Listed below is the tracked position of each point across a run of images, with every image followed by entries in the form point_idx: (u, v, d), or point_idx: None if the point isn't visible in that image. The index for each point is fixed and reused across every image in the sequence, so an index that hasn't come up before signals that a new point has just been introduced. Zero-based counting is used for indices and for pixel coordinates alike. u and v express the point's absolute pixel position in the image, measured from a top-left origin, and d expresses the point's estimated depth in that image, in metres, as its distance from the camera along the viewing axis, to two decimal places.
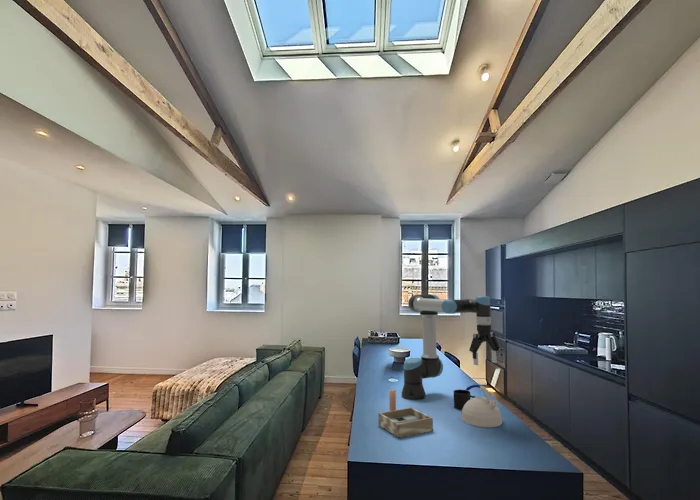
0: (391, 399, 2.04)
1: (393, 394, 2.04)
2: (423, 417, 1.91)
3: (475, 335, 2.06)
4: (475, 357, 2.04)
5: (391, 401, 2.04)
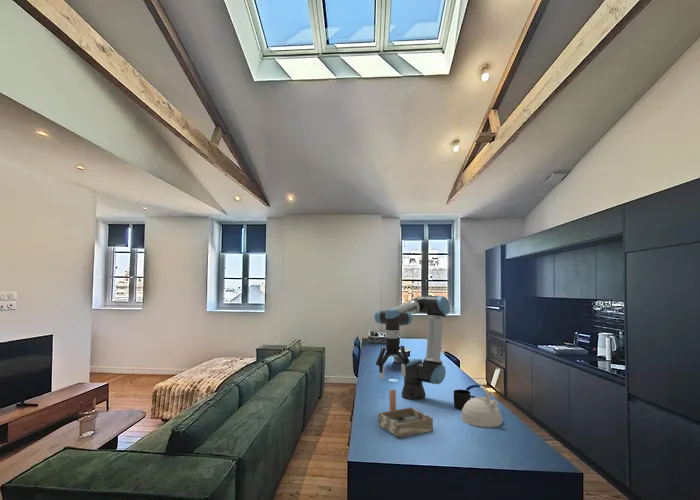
0: (391, 399, 2.04)
1: (393, 394, 2.04)
2: (423, 417, 1.91)
3: (382, 349, 2.04)
4: (381, 371, 2.03)
5: (391, 401, 2.04)
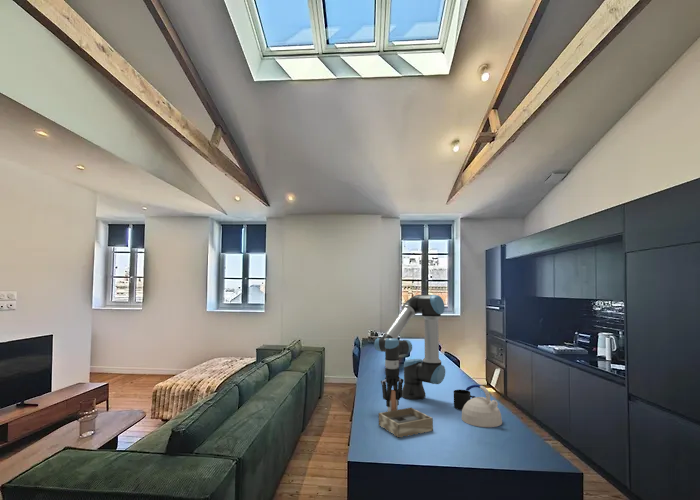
0: (391, 399, 2.04)
1: (393, 394, 2.04)
2: (423, 417, 1.91)
3: (382, 383, 2.03)
4: (388, 405, 2.03)
5: (391, 401, 2.04)
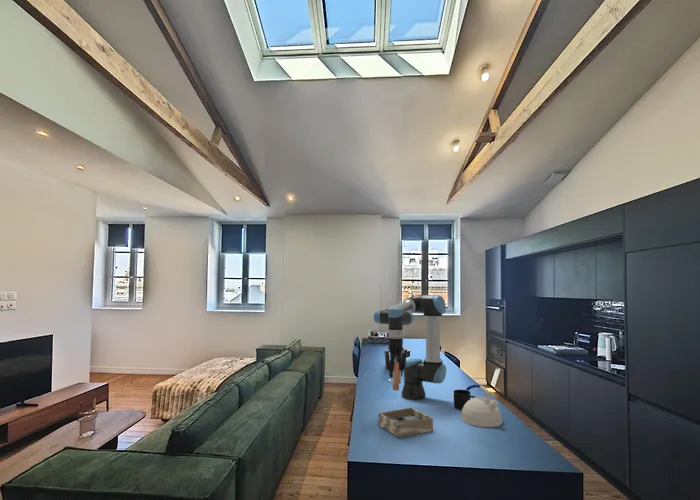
0: (394, 370, 1.98)
1: (396, 365, 1.98)
2: (423, 417, 1.91)
3: (385, 353, 1.97)
4: (391, 376, 1.97)
5: (394, 373, 1.98)
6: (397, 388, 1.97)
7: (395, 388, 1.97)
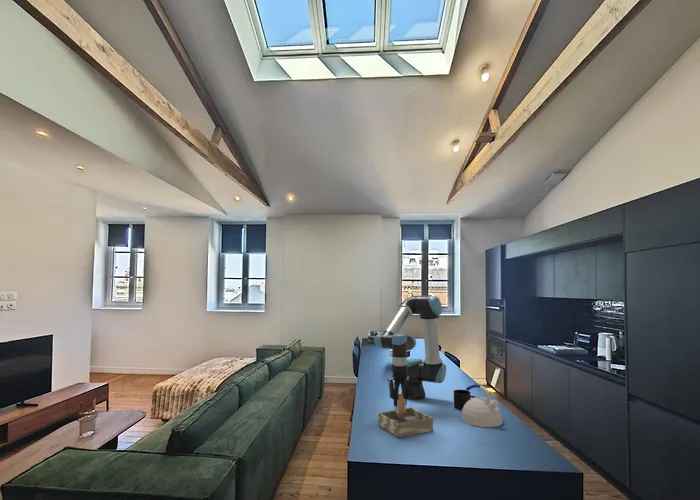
0: (399, 404, 1.92)
1: (401, 399, 1.92)
2: (423, 417, 1.91)
3: (389, 381, 1.92)
4: (396, 405, 1.92)
5: (399, 406, 1.92)
6: None
7: None
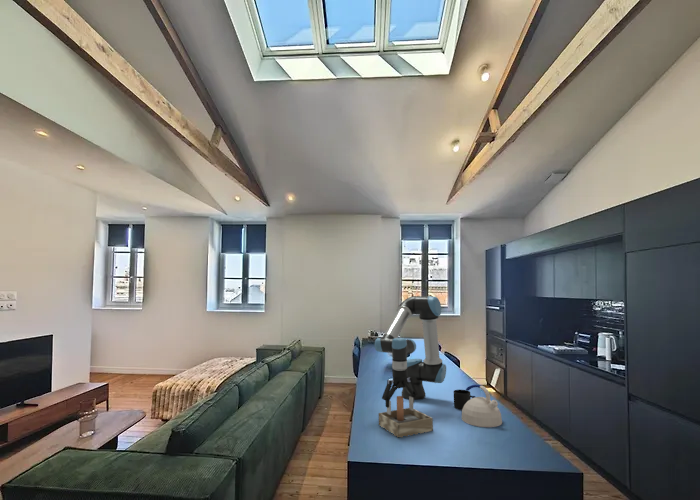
0: (398, 406, 1.92)
1: (401, 401, 1.92)
2: (423, 417, 1.91)
3: (388, 381, 1.91)
4: (388, 406, 1.89)
5: (399, 408, 1.92)
6: None
7: None
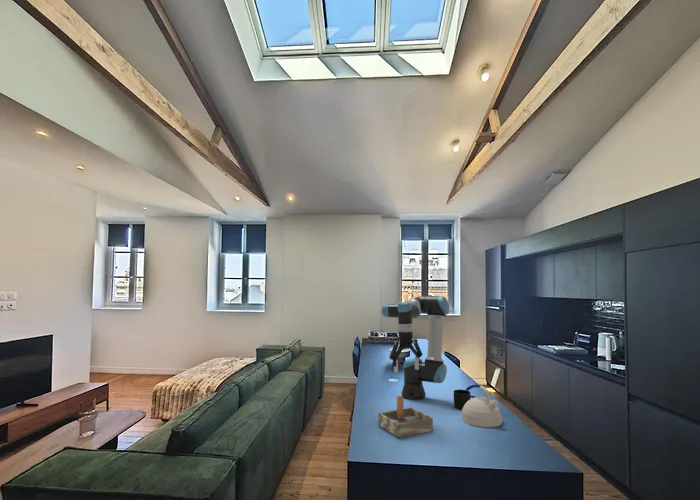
0: (398, 406, 1.92)
1: (401, 401, 1.92)
2: (423, 417, 1.91)
3: (395, 342, 2.03)
4: (395, 365, 2.02)
5: (398, 408, 1.92)
6: None
7: None
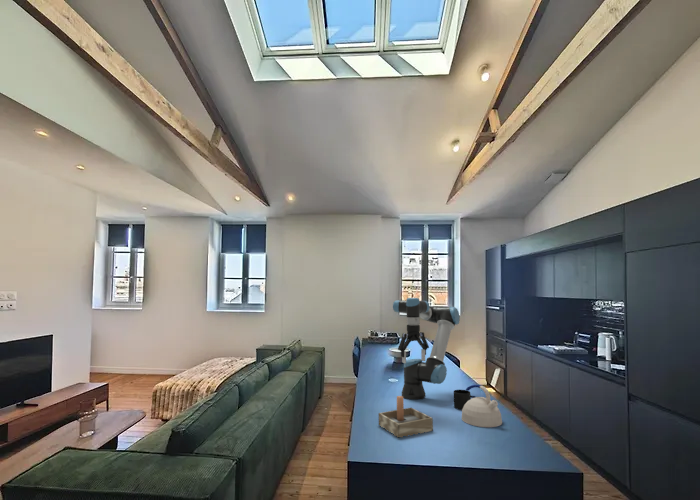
0: (399, 406, 1.92)
1: (401, 401, 1.92)
2: (423, 417, 1.91)
3: (404, 335, 2.18)
4: (403, 355, 2.16)
5: (399, 408, 1.92)
6: None
7: None
